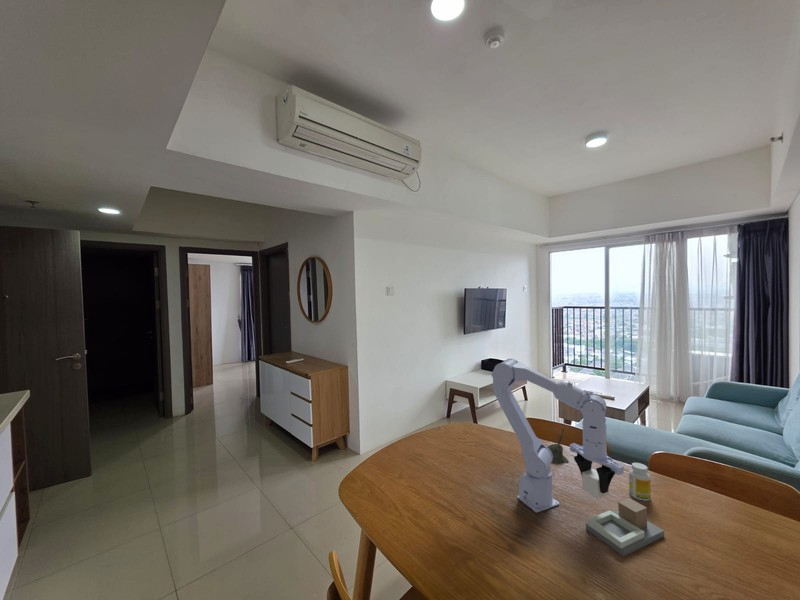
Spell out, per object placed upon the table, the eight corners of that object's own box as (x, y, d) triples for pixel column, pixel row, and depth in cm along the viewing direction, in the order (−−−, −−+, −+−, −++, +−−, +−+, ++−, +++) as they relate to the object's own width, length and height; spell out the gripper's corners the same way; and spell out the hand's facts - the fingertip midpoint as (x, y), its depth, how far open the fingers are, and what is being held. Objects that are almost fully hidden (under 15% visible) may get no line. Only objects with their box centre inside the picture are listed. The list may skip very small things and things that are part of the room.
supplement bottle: (625, 493, 101) (624, 463, 101) (636, 489, 103) (636, 459, 103) (643, 503, 96) (642, 471, 96) (655, 499, 98) (654, 468, 98)
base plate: (623, 556, 77) (623, 529, 77) (585, 528, 86) (585, 505, 86) (664, 536, 83) (663, 511, 83) (624, 512, 92) (624, 490, 92)
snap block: (597, 498, 86) (597, 480, 86) (582, 489, 90) (582, 472, 90) (608, 494, 88) (608, 476, 88) (593, 485, 92) (593, 468, 92)
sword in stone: (542, 462, 121) (541, 430, 121) (538, 453, 128) (537, 423, 129) (571, 465, 118) (570, 432, 119) (565, 455, 126) (564, 425, 126)
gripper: (630, 447, 84) (631, 498, 84) (580, 427, 97) (581, 470, 97) (613, 452, 81) (614, 505, 81) (564, 431, 95) (565, 476, 95)
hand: (595, 487), depth 89 cm, fingers closed on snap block, 4 cm apart
